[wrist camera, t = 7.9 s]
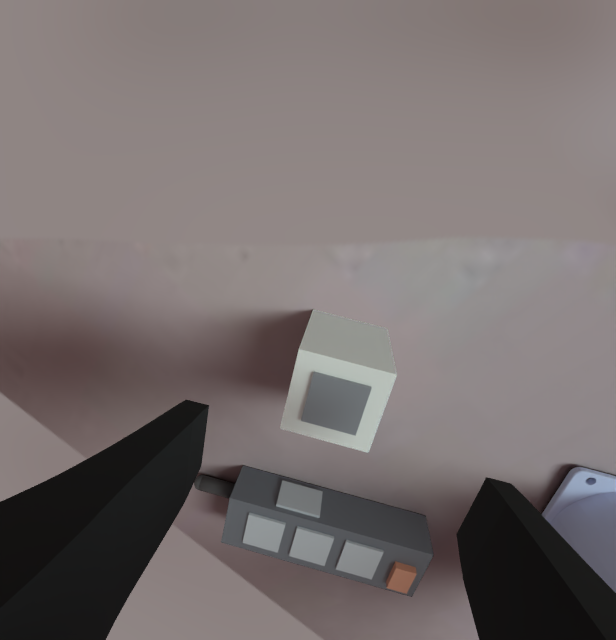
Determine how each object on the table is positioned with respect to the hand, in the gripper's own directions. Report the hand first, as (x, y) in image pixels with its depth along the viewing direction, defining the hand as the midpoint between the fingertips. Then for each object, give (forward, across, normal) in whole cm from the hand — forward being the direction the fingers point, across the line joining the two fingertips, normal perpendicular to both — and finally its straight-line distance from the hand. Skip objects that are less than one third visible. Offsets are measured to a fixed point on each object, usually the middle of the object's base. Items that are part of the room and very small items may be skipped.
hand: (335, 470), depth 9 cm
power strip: (+10, -1, +13) cm, 17 cm away
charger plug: (+10, 0, +2) cm, 11 cm away
